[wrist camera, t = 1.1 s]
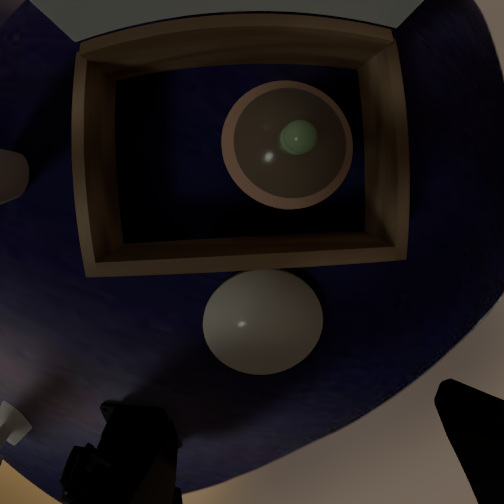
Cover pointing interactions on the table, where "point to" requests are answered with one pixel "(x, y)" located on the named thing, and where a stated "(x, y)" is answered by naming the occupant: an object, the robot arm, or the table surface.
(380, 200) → the open wooden box frame
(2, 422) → the heart sculpture
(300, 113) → the clay pot
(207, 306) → the cream round disc
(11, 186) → the smoothie
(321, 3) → the grey angled plate
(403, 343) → the table surface
